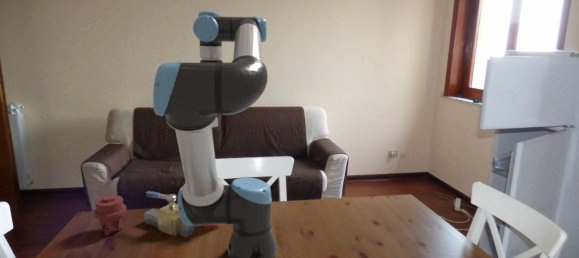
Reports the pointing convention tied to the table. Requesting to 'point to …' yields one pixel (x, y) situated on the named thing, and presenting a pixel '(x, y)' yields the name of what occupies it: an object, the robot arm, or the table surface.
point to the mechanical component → (110, 213)
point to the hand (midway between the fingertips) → (213, 126)
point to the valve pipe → (169, 220)
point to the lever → (161, 196)
